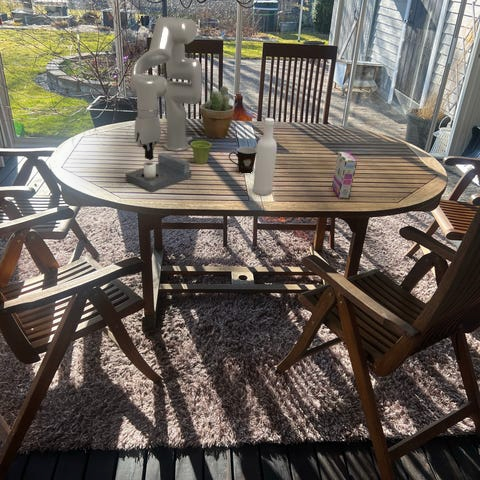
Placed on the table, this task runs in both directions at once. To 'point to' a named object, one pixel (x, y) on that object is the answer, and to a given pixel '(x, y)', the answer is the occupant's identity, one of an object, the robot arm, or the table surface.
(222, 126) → the potted plant
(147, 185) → the jig
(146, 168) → the bushing
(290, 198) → the table surface
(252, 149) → the coffee mug
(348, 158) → the candy bar box
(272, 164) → the bottle
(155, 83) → the robot arm
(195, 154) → the plant pot
